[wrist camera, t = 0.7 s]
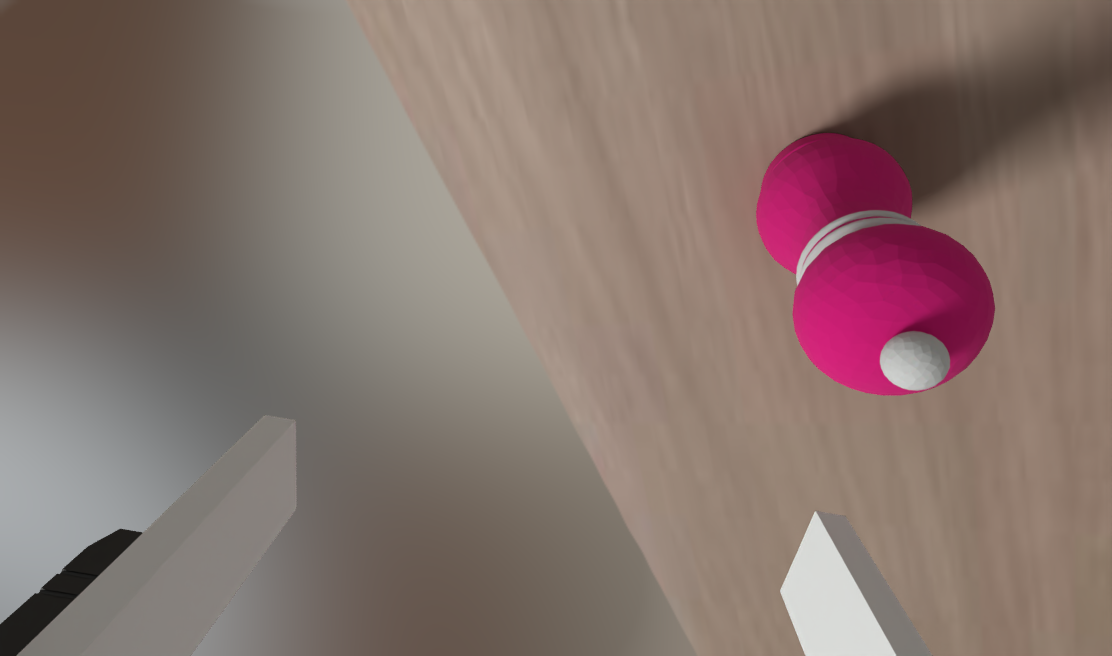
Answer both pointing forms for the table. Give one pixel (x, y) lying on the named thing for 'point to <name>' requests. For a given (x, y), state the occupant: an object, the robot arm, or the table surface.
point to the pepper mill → (870, 269)
